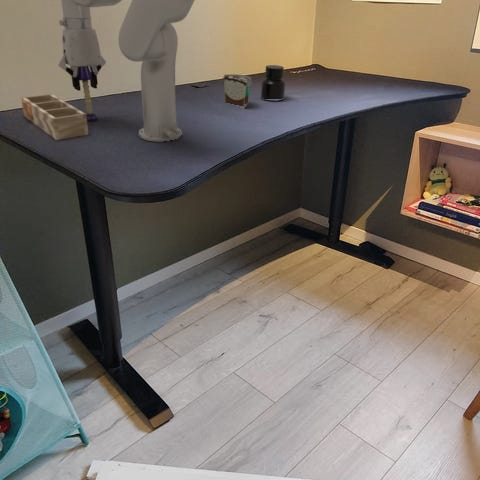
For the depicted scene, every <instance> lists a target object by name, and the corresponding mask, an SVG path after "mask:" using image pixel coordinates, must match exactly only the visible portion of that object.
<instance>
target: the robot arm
mask: <svg viewBox="0 0 480 480" xmlns="http://www.w3.org/2000/svg"><path fill="white" fill-rule="evenodd" d="M121 1H122V0H60V2H61V8H62V19H60V20H59V21H58V23H59V25H60V26H63V27H64V28H63V29H62V37H61V38H62V42H61V43H62V54H63V55H62V57H61V59H60V61H59V63H58V67H59V68H61V69H62V70H64V71H65V72H67V74H69V76H71V83H72V87H73V88H74V90H76V91H78V92H79V91H81V82H80V81H81V80H79V77H77V71H78V67H85V66H88V67H89V69H90V72H91V75H92V79H91V80H89V83H90V85H89V86H90V87H91V88H93V89H95V90H96V89H98V85H99V83H98V75H99V72H100V71H101V69H102V67H104V66H105V65H106V64H107V61H106V60H105V58H103V56H102V54H101V49H100V43H99V39H98V34H97V32H96V29H94V28H93V25H92V15H91V8H100V7H111V6H116V5H118V4H120V3H121ZM195 1H196V0H131V2H130V4H129V7H128V9H127V12H126V13H125V16H124V19H123V21H122V24H121V26H120V29H119V32H118V47H119V50H120V52H121V53H122V55H123V56H124V57H125V58H126V59H127V60H129V61H132V62H137V63H138V62H141V67H140V87H141V104H142V117H143V127H142V128H140V129H139V130H138V136H139V138H140V139H142V140H145V141H149V142H156V143H157V142H158V143H163V142H164V141H167V142H171V141H170V140H173V141H175V140H174V139H176V138H178V139H180V138H181V137H182V136H183V135H182V133H183V132H182V130H181V128H178V122H177V105H176V104H177V103H176V100H177V99H176V63H177V62H176V60H177V53H178V43H179V41H178V39H179V38H178V34H177V31H176V29H175V27H174V25H173V24H176V23H179V22H182V21H183V20H185V19H186V17H187V16H188V14H189V13H190V10H191V8H192V7H193V4H194V2H195ZM67 65H69V66H67ZM181 135H182V136H181ZM180 136H181V137H180ZM179 137H180V138H179ZM176 140H177V139H176Z"/></svg>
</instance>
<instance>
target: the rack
mask: <svg viewBox="0 0 480 480" xmlns="http://www.w3.org/2000/svg"><path fill="white" fill-rule="evenodd" d="M20 99H21V105H22V111H23V115H24V117H25V119H27V120H29V121H30V122H31V123H33V124H34V125H35V126H37V127H38V128H40V129H41V130H42V131H43V132H45V133H46V134H48V135H49V136H50V137H51V138H53V139H54V140H55V141H59V140H65V139H71V138H75V137H82V136H87V135H89V128H88V127H89V126H88V121H87V117H86V114H87V113H85V112H83V111H81V110H80V109H78V108H77V107H74V106H73V105H71V104H70V103H68V102H66V101H65V100H63V99H61V98H59V96H58V97H57V96H56V95H54V94H53V93H47V94H40V95H32V96H23V97H21V98H20Z"/></svg>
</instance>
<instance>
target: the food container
mask: <svg viewBox="0 0 480 480" xmlns="http://www.w3.org/2000/svg"><path fill="white" fill-rule="evenodd" d="M222 77H223V79H222V81H223V88H224V90H223V91H224V104H226V103H230V104H234V105H239V106H243V107H245V106H247V107H248V102H249V97H250V90H251V89H250V88H251V86H253V80H252V78H251V77H250V76H248V75H242V74H232V73H230V74H229V73H228V74H223V76H222Z"/></svg>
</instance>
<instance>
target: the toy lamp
mask: <svg viewBox="0 0 480 480" xmlns="http://www.w3.org/2000/svg"><path fill="white" fill-rule="evenodd" d="M77 77H79V81H82V84H83V85H82V87H83V93H84V95H83V96H84V99H85V101H84V103H85V104H86V105H85V109H86V113H85V114H86V117H87V122H96V121H98V116H97V115H96V114H95V113H94V112H93V107H92V106H93V105H92V100H91V93H90V85H89V81H90V80H91V79H92V75H91V71H90V68H89V66H85V67H78V71H77Z"/></svg>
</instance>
